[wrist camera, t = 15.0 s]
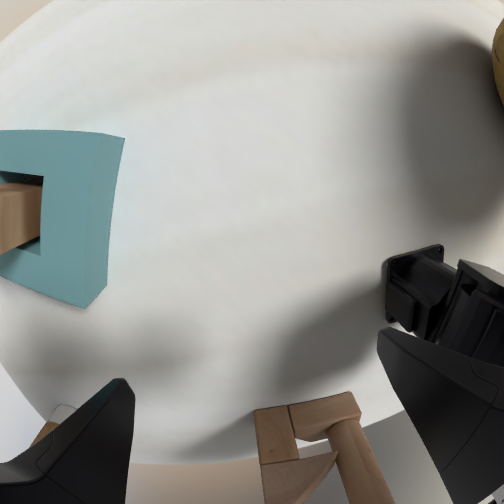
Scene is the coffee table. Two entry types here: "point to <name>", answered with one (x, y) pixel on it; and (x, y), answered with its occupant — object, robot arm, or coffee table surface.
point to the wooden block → (317, 467)
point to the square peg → (19, 213)
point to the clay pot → (499, 59)
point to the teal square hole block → (64, 210)
